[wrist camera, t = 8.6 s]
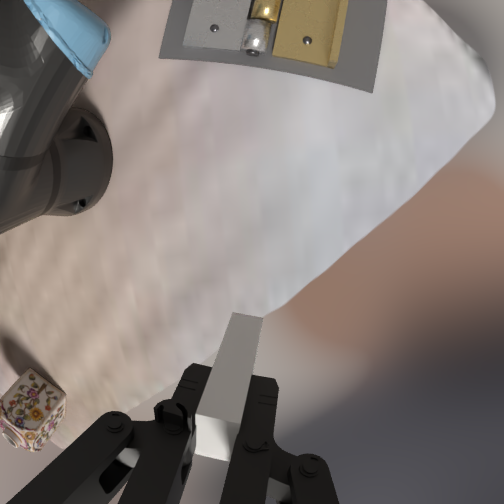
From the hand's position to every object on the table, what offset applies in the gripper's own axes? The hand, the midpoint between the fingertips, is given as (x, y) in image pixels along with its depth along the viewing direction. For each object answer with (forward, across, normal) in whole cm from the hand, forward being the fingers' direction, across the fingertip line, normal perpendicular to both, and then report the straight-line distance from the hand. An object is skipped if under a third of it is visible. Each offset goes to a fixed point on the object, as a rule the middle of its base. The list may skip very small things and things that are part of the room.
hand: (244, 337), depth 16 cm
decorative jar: (+24, -47, -50) cm, 73 cm away
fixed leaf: (+23, -8, +25) cm, 35 cm away
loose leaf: (+23, -1, +24) cm, 34 cm away
